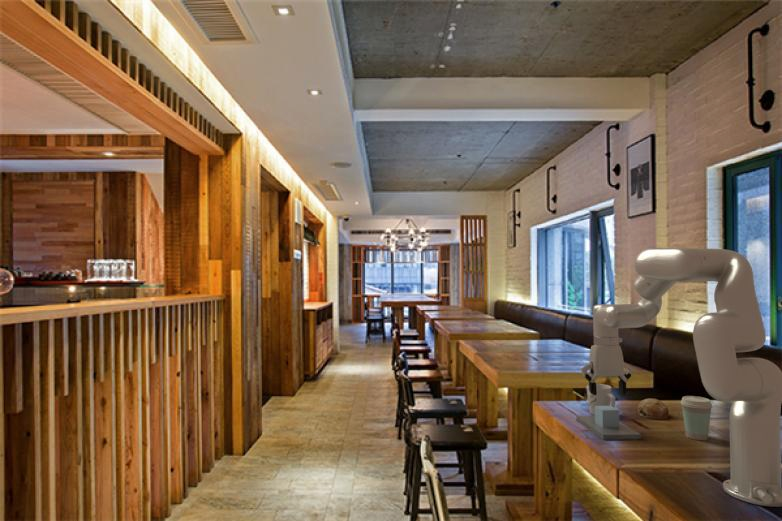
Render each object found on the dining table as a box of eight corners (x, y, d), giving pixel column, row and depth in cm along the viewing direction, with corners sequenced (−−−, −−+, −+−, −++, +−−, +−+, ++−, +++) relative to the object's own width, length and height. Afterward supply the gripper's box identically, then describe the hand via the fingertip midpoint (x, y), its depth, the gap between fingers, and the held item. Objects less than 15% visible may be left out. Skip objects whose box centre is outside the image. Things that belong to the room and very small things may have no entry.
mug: (623, 417, 177) (623, 389, 177) (605, 420, 173) (605, 391, 174) (599, 409, 187) (599, 382, 187) (581, 411, 184) (581, 384, 184)
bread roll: (635, 423, 182) (628, 404, 181) (652, 408, 186) (645, 389, 185) (660, 430, 173) (653, 411, 172) (677, 414, 177) (670, 395, 176)
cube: (619, 427, 161) (619, 410, 161) (602, 427, 160) (602, 410, 160) (610, 422, 166) (610, 405, 166) (594, 422, 166) (594, 405, 166)
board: (641, 439, 153) (641, 434, 154) (603, 439, 153) (603, 434, 153) (610, 420, 173) (610, 415, 174) (576, 420, 173) (576, 416, 173)
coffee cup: (718, 442, 150) (717, 403, 151) (687, 440, 152) (686, 401, 152) (706, 433, 159) (705, 396, 159) (676, 432, 160) (676, 394, 161)
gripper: (625, 340, 168) (627, 391, 167) (575, 340, 167) (577, 392, 166) (637, 342, 160) (639, 396, 159) (585, 343, 160) (587, 397, 159)
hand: (607, 394), depth 163 cm, fingers open, 9 cm apart
